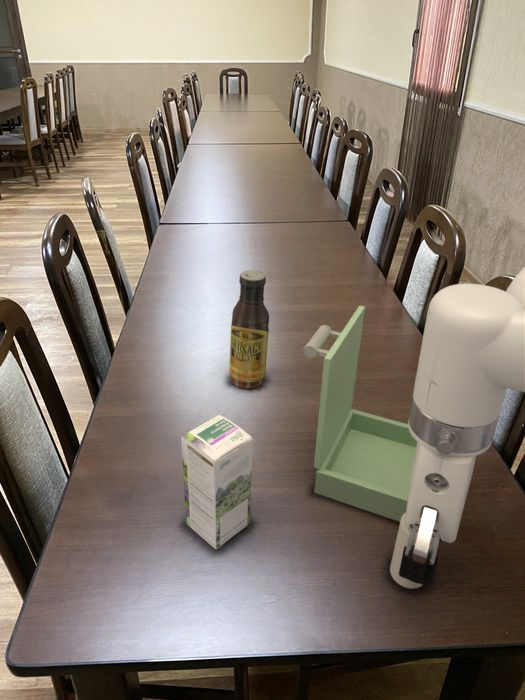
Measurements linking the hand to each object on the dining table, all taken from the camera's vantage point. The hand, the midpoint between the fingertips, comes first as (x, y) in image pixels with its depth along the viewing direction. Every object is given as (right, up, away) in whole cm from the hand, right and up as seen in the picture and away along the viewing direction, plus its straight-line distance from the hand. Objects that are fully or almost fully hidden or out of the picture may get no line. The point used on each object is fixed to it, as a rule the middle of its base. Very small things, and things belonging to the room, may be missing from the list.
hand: (423, 543), depth 58 cm
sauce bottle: (-20, +15, +35) cm, 43 cm away
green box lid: (-7, +16, +12) cm, 21 cm away
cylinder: (-1, -4, +3) cm, 5 cm away
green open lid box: (0, +4, +16) cm, 16 cm away
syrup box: (-23, -1, +8) cm, 24 cm away
